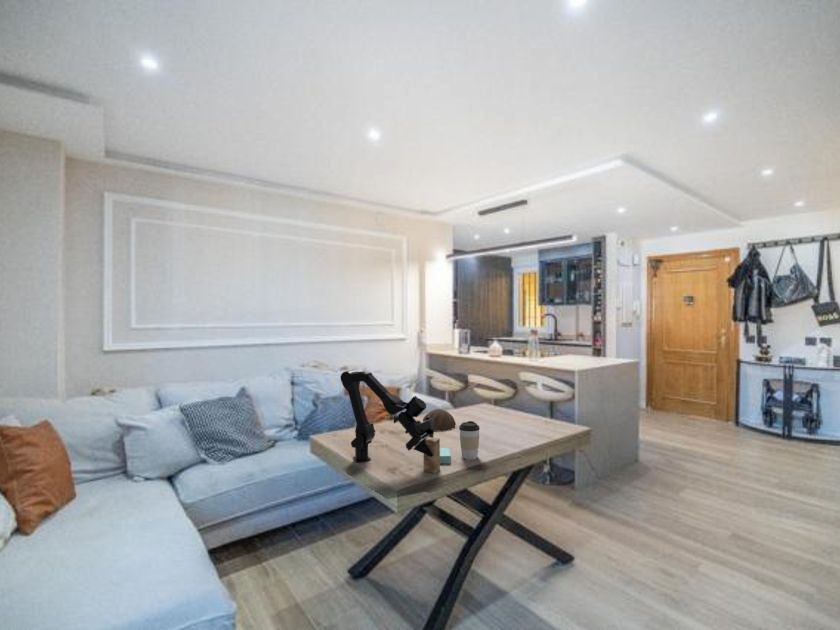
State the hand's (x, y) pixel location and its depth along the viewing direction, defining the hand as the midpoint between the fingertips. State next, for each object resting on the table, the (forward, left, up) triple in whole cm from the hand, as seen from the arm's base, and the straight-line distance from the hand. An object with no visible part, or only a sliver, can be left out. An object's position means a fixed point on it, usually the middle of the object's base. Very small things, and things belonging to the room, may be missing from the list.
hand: (434, 454), depth 168 cm
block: (-1, -1, -7) cm, 7 cm away
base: (-12, +7, -7) cm, 15 cm away
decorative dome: (-60, +32, -7) cm, 69 cm away
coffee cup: (-8, +21, -7) cm, 24 cm away
